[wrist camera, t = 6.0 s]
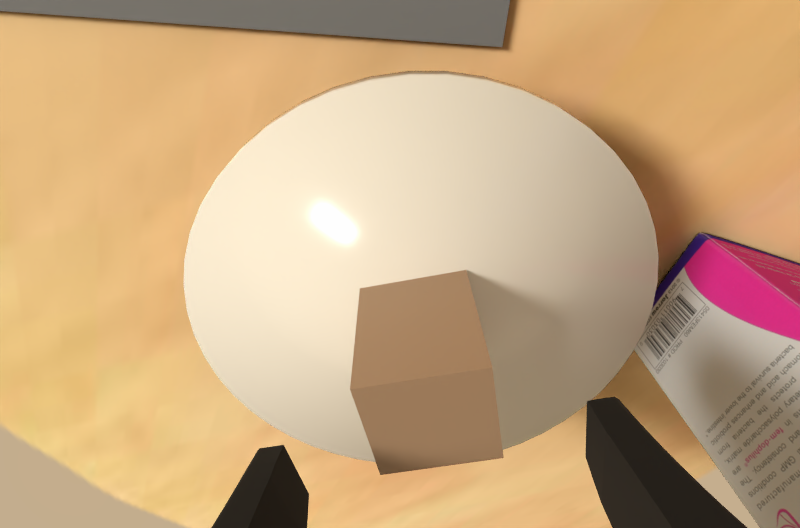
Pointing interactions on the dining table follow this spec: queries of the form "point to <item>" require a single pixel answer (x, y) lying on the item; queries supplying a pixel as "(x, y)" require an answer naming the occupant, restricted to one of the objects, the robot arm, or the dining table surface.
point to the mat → (305, 16)
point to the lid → (420, 269)
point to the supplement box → (734, 367)
